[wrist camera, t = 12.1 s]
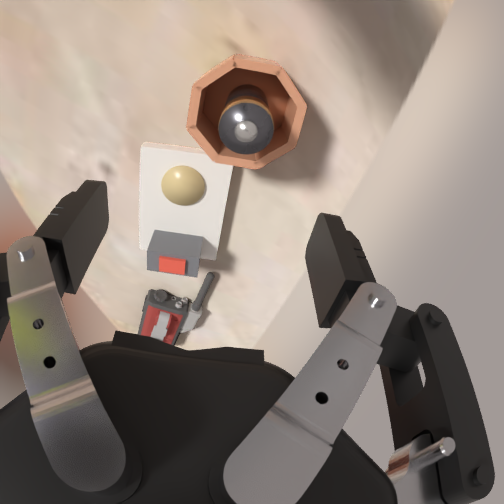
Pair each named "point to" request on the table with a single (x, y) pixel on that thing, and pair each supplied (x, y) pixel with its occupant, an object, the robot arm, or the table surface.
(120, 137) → the table surface
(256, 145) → the cell
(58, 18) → the table surface
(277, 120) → the cup
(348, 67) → the table surface
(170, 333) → the walkie-talkie
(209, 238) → the tester
